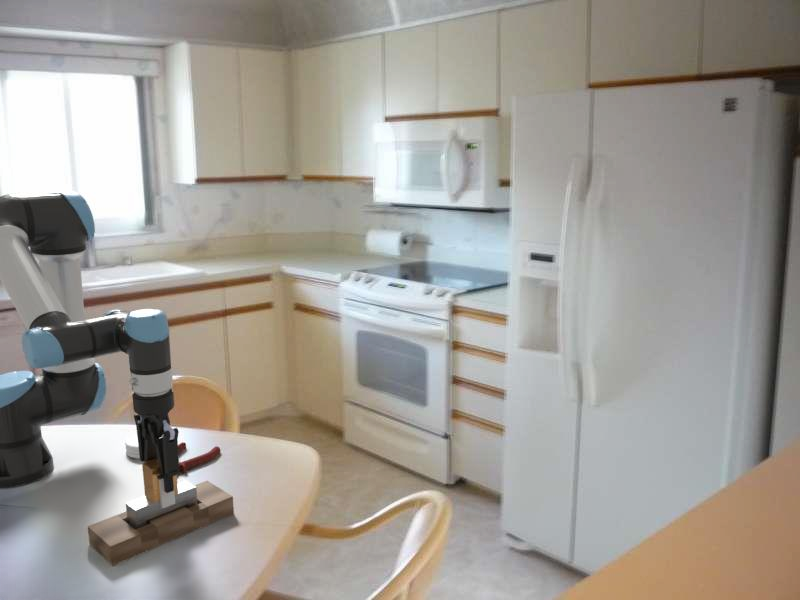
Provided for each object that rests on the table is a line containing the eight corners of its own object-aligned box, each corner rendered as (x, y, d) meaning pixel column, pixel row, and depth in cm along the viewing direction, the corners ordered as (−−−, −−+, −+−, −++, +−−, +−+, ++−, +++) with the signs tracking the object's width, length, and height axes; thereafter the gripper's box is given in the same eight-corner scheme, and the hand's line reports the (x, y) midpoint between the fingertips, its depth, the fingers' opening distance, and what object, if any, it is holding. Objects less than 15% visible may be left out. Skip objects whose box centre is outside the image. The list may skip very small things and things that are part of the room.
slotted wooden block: (89, 544, 141) (87, 526, 140) (208, 497, 159) (207, 480, 158) (112, 566, 134) (110, 546, 133) (233, 513, 152) (232, 496, 151)
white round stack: (175, 451, 182) (173, 438, 181) (135, 463, 175) (134, 450, 174) (158, 439, 189) (157, 426, 188) (119, 450, 182) (118, 437, 182)
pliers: (134, 486, 165) (133, 476, 164) (181, 449, 184) (180, 440, 183) (179, 492, 162) (178, 482, 161) (222, 454, 181) (222, 445, 180)
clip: (128, 535, 143) (122, 469, 140) (188, 511, 152) (183, 448, 149) (138, 543, 140) (131, 476, 137) (198, 518, 149) (193, 454, 146)
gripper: (113, 384, 143) (124, 493, 148) (155, 406, 131) (165, 524, 136) (149, 375, 148) (158, 480, 153) (193, 396, 136) (201, 509, 142)
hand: (162, 500), depth 145 cm, fingers closed on clip, 4 cm apart
